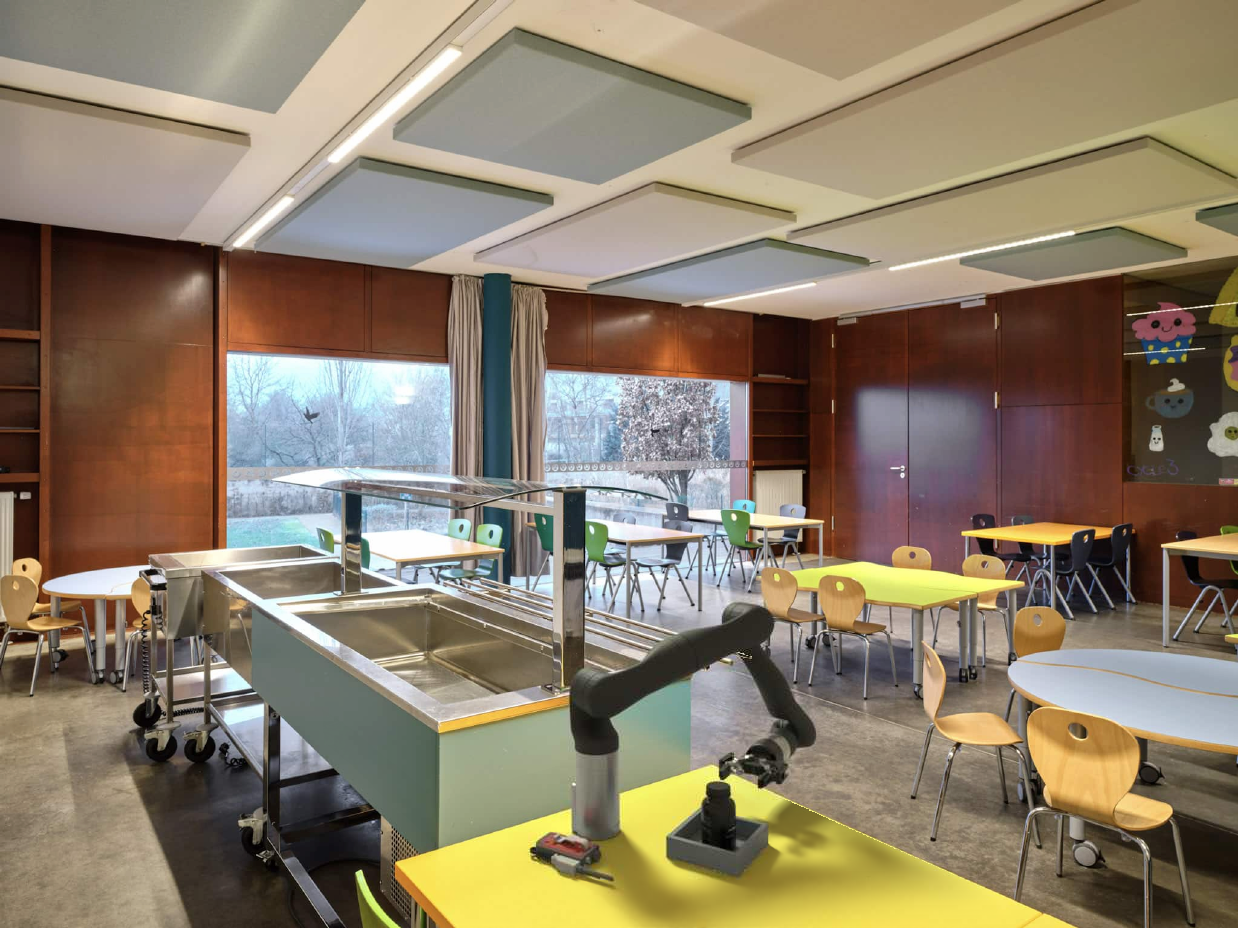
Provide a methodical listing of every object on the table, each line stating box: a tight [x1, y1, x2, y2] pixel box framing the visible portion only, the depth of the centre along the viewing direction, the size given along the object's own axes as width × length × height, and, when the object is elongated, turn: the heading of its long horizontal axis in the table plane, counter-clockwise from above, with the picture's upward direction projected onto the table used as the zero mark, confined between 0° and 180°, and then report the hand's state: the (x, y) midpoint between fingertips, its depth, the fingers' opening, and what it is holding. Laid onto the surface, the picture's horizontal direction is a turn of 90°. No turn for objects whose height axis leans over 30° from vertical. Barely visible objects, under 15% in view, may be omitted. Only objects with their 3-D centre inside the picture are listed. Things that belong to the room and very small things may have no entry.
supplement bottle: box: [700, 780, 737, 851], centre depth 156 cm, size 7×7×12 cm
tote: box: [665, 806, 769, 879], centre depth 156 cm, size 15×15×4 cm
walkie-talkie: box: [529, 831, 615, 882], centre depth 151 cm, size 9×4×20 cm
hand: (740, 779), depth 165 cm, fingers open, 8 cm apart
